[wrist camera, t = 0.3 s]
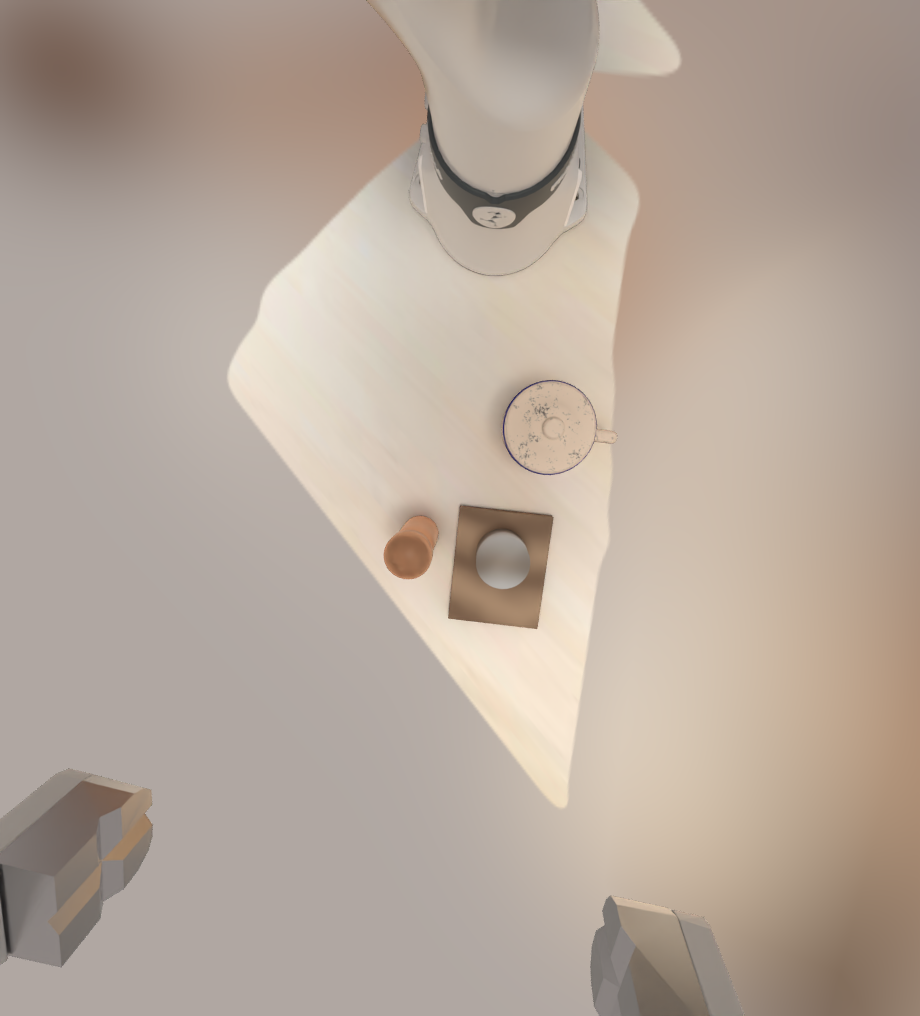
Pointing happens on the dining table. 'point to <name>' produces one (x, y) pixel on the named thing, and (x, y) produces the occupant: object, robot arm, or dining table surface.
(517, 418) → the teacup with lid
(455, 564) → the stud board
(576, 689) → the dining table surface
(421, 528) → the peach lidded canister
